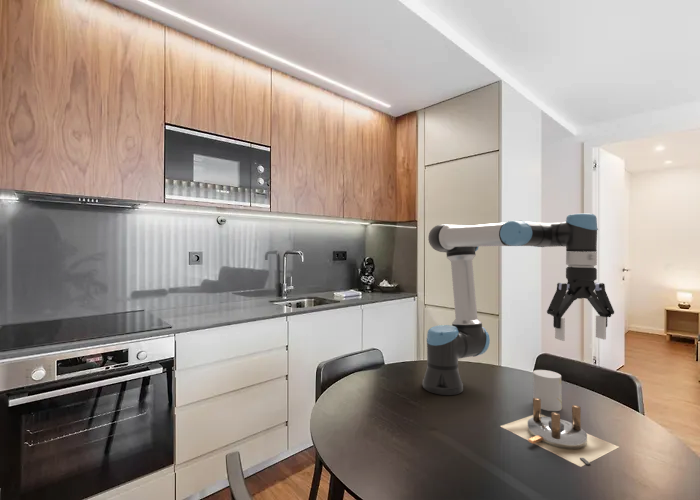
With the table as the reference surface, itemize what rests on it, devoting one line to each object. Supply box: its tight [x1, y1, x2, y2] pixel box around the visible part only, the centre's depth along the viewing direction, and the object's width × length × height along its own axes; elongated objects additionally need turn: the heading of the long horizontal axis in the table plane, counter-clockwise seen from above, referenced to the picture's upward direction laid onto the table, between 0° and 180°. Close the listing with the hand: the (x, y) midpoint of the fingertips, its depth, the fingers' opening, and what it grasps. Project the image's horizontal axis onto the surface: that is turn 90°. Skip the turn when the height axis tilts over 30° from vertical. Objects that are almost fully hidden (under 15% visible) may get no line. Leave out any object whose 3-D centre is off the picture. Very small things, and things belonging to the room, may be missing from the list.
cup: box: [532, 369, 563, 412], centre depth 114 cm, size 8×8×12 cm
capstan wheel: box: [527, 397, 588, 449], centre depth 93 cm, size 14×18×8 cm
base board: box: [499, 413, 620, 468], centre depth 94 cm, size 23×18×2 cm
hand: (580, 339), depth 100 cm, fingers open, 13 cm apart
